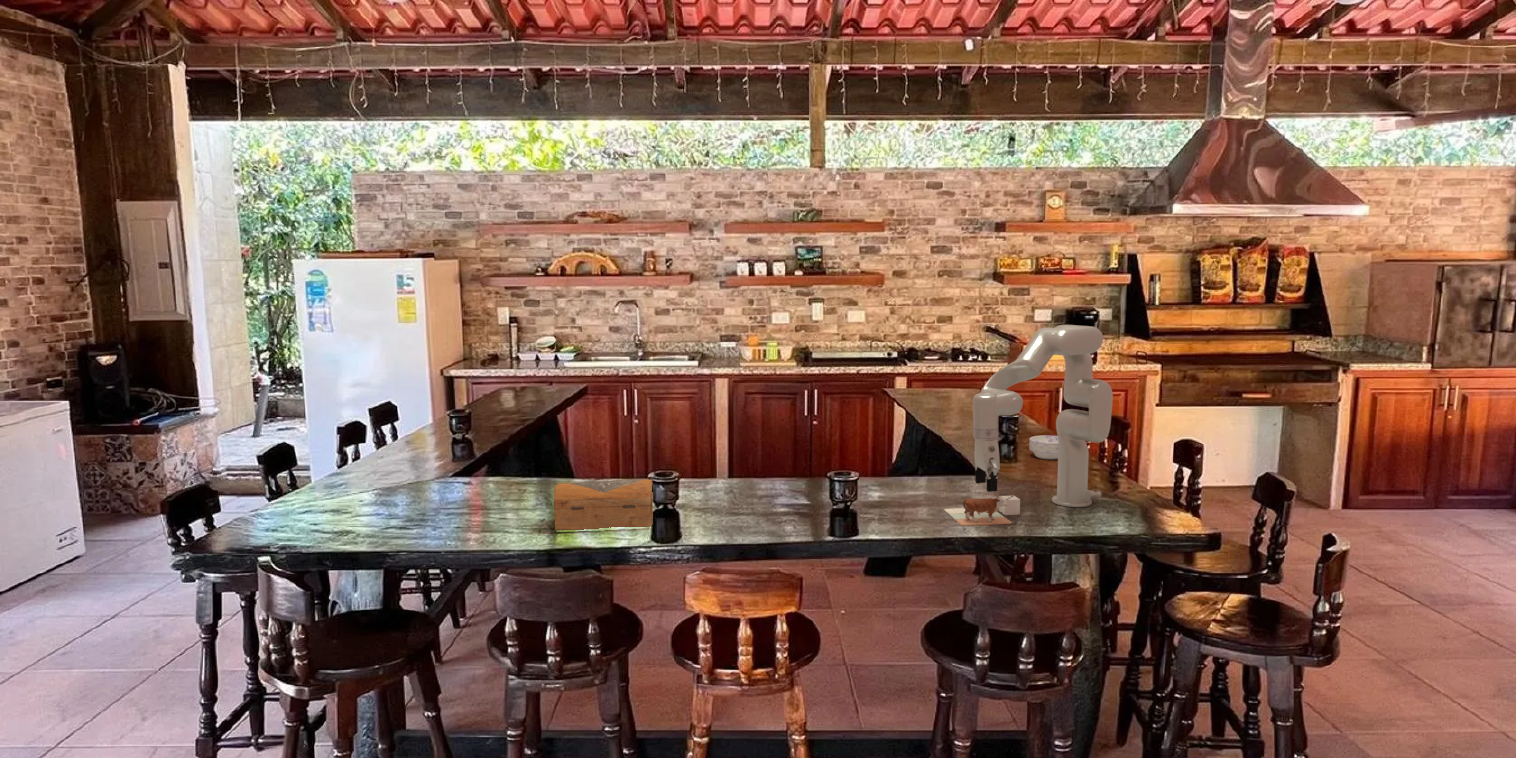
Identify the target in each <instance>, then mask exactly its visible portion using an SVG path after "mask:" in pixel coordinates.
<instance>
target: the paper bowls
mask: <svg viewBox="0 0 1516 758" xmlns="http://www.w3.org/2000/svg"><path fill="white" fill-rule="evenodd" d="M1028 447H1029V451H1031V452H1033V454H1034V456H1035V457H1036V458H1039V459H1040V460H1041V459H1042V460H1058V448H1059V445H1058V435H1051V434H1050V435H1048V434H1047V435H1046V434H1044V435H1034V436H1031V437H1030V438H1029V445H1028Z"/></svg>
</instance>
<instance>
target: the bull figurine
mask: <svg viewBox="0 0 1516 758" xmlns="http://www.w3.org/2000/svg"><path fill="white" fill-rule="evenodd" d="M1002 496H1003V495H999V496H990V497H986V498H985V497H984V498H965V499H964V500H963V501H962V506H963V508H965V512H964V513H965V516H966V517H965V518H967V520H970V519H969V518H970V516H971V517H972V519H973V521H975V522H978V521H977V520H976V519H975V517H974V512H975V511H976V512H977V513H978V514H979V515H980V513H983V512H987V513H989V514H988V516H989V517H988V521H989V522H992V521H991V519H992V520H994V518H993V516H992V514H993V513H995V512H996V511H997V512H998V511H999V507H1002V506H1007V503H1006V501H1005V499H1004V498H1003V497H1002Z"/></svg>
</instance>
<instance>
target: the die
mask: <svg viewBox="0 0 1516 758" xmlns="http://www.w3.org/2000/svg"><path fill="white" fill-rule="evenodd" d="M1001 496H1002V497H1003V498H1004V499H1005V501H1006V503H1007V506H1002V507H999V509H998V511H999V512H1000V513H1001V512H1002V513H1001V514H1002V515H1004V516H1012V515H1013V516H1016V515H1017V516H1018V515H1020V513H1021V510H1020V509H1021V499H1020V498H1019V497H1017V496H1015V495H1001Z"/></svg>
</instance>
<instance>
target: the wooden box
mask: <svg viewBox="0 0 1516 758" xmlns="http://www.w3.org/2000/svg"><path fill="white" fill-rule="evenodd" d="M652 485H653V480H652V479H623V480H622V479H620V480H619V479H618V480H595V481H594V480H593V481H590V480H589V481H579V482H578V481H577V482H562V483H561V482H560V483H556V486H555V489H554V493H553V509H554V512H553V513H554V531H555V530H584V529H599V528H609V527H610V528H611V527H650V526H651V525H653V524H654V522H653V521H654V520H653V519H654V513H653V510H654V509H653V508H654V506H653V503H654V491H653V492H652ZM653 526H654V525H653Z"/></svg>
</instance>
